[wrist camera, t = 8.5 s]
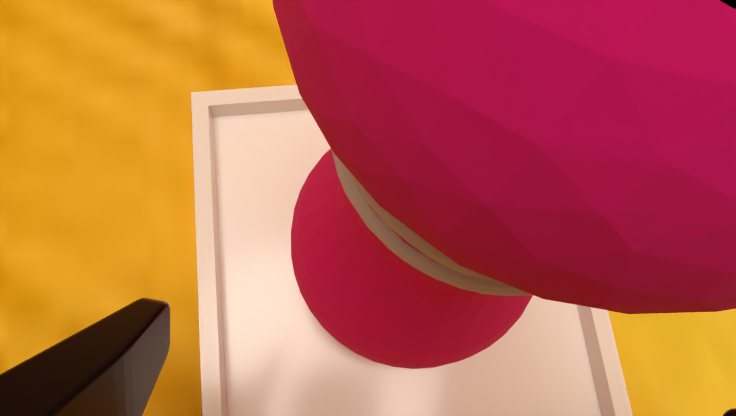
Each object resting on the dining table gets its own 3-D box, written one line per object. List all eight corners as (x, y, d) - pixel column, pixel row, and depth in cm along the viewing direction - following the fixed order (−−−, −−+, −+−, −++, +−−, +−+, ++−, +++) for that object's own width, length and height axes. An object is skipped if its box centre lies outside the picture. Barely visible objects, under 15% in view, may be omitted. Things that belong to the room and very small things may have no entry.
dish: (614, 435, 19) (639, 442, 18) (216, 494, 18) (205, 508, 16) (534, 86, 23) (549, 66, 21) (201, 111, 21) (191, 92, 20)
